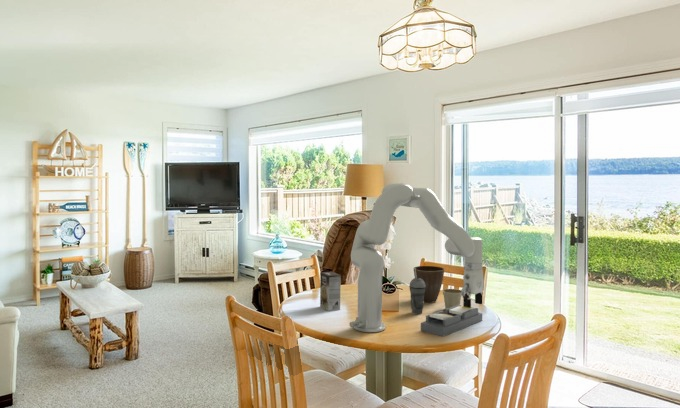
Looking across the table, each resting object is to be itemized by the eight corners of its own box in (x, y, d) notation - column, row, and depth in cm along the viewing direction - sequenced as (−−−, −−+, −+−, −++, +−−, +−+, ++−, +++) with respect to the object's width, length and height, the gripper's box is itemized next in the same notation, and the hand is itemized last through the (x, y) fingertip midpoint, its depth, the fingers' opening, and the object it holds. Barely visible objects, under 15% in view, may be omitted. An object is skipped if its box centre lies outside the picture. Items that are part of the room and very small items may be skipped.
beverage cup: (425, 315, 199) (425, 269, 198) (408, 314, 200) (409, 269, 199) (425, 310, 206) (426, 266, 205) (409, 309, 207) (409, 266, 206)
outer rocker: (462, 315, 184) (462, 312, 184) (449, 312, 188) (449, 309, 188) (474, 310, 191) (474, 307, 191) (461, 308, 195) (461, 305, 195)
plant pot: (430, 306, 214) (430, 272, 214) (406, 299, 226) (407, 267, 225) (450, 301, 224) (450, 268, 223) (426, 295, 235) (427, 264, 235)
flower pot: (439, 306, 213) (440, 288, 213) (460, 307, 213) (460, 288, 213) (443, 312, 204) (444, 293, 204) (465, 312, 204) (465, 293, 203)
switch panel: (443, 336, 170) (443, 322, 170) (420, 330, 177) (421, 316, 177) (482, 320, 192) (482, 307, 191) (461, 315, 199) (461, 303, 198)
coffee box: (319, 306, 212) (319, 272, 211) (331, 305, 215) (332, 271, 214) (328, 311, 204) (328, 275, 203) (340, 309, 207) (341, 274, 206)
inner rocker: (443, 319, 174) (443, 316, 174) (429, 316, 178) (430, 313, 178) (456, 320, 181) (456, 316, 181) (443, 316, 185) (443, 313, 185)
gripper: (470, 270, 186) (470, 311, 187) (491, 264, 198) (490, 303, 199) (454, 267, 191) (454, 308, 192) (475, 262, 204) (475, 300, 204)
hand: (472, 305), depth 196 cm, fingers open, 9 cm apart
